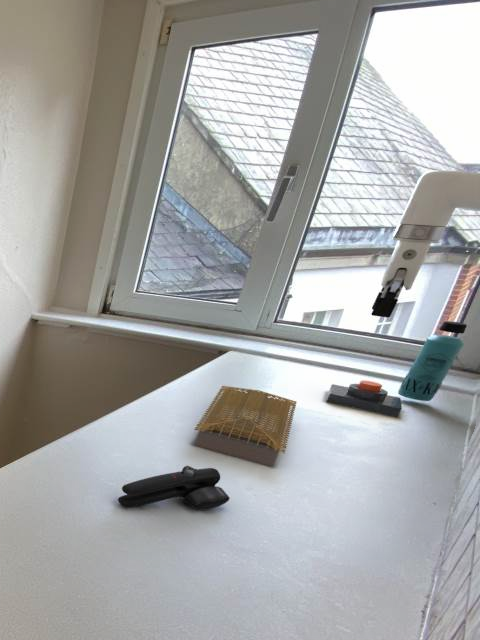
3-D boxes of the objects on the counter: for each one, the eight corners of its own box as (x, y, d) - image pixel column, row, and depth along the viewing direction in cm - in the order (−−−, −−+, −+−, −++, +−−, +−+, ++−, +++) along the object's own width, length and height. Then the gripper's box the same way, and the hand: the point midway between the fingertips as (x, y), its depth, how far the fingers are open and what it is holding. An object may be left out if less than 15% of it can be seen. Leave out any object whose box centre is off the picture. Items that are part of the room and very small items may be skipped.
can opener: (198, 488, 92) (209, 458, 90) (231, 510, 86) (244, 479, 83) (103, 493, 89) (112, 463, 87) (130, 517, 83) (141, 485, 80)
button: (378, 390, 132) (382, 383, 131) (378, 394, 129) (382, 387, 128) (357, 386, 134) (360, 379, 133) (356, 390, 131) (360, 383, 130)
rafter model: (277, 469, 99) (291, 439, 97) (188, 445, 108) (198, 416, 105) (290, 416, 124) (301, 390, 121) (217, 399, 132) (226, 375, 129)
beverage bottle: (389, 395, 140) (430, 317, 131) (423, 400, 137) (467, 321, 128) (399, 403, 134) (443, 322, 125) (434, 409, 132) (481, 327, 123)
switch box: (396, 406, 133) (404, 390, 131) (397, 417, 126) (406, 401, 124) (328, 392, 140) (335, 377, 138) (326, 401, 133) (333, 386, 132)
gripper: (444, 237, 111) (402, 322, 118) (438, 234, 122) (400, 310, 130) (395, 234, 115) (357, 315, 123) (393, 231, 127) (359, 305, 134)
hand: (380, 313), depth 126 cm, fingers open, 9 cm apart
